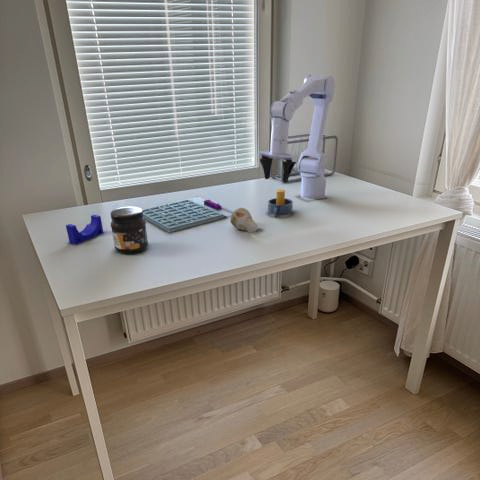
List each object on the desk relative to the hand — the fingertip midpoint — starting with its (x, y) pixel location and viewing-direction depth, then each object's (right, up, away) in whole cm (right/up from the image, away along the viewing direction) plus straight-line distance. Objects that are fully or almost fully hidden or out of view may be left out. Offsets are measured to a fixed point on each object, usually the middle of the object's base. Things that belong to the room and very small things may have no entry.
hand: (276, 180), depth 164 cm
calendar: (-34, -10, +8) cm, 36 cm away
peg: (+2, -10, +6) cm, 11 cm away
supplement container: (-47, -28, -20) cm, 58 cm away
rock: (-11, -20, -7) cm, 24 cm away
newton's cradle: (+16, +17, +51) cm, 56 cm away
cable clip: (-65, -23, -11) cm, 69 cm away
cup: (+2, -11, +6) cm, 12 cm away
